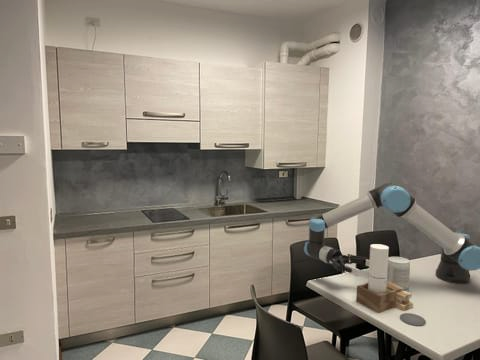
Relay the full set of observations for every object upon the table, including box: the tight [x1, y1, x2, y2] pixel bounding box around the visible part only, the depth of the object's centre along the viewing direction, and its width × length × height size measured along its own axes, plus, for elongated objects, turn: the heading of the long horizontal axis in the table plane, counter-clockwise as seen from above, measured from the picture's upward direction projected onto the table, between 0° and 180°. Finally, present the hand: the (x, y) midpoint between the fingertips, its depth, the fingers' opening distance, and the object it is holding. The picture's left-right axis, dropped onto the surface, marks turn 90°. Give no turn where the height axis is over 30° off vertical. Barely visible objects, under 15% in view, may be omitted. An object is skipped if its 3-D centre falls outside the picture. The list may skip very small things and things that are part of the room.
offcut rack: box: [355, 281, 414, 313], centre depth 150 cm, size 17×15×7 cm
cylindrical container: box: [367, 243, 390, 295], centre depth 149 cm, size 7×7×25 cm
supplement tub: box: [387, 256, 411, 292], centre depth 164 cm, size 10×10×15 cm
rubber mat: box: [399, 312, 427, 327], centre depth 137 cm, size 9×9×1 cm
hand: (369, 269), depth 152 cm, fingers open, 13 cm apart
